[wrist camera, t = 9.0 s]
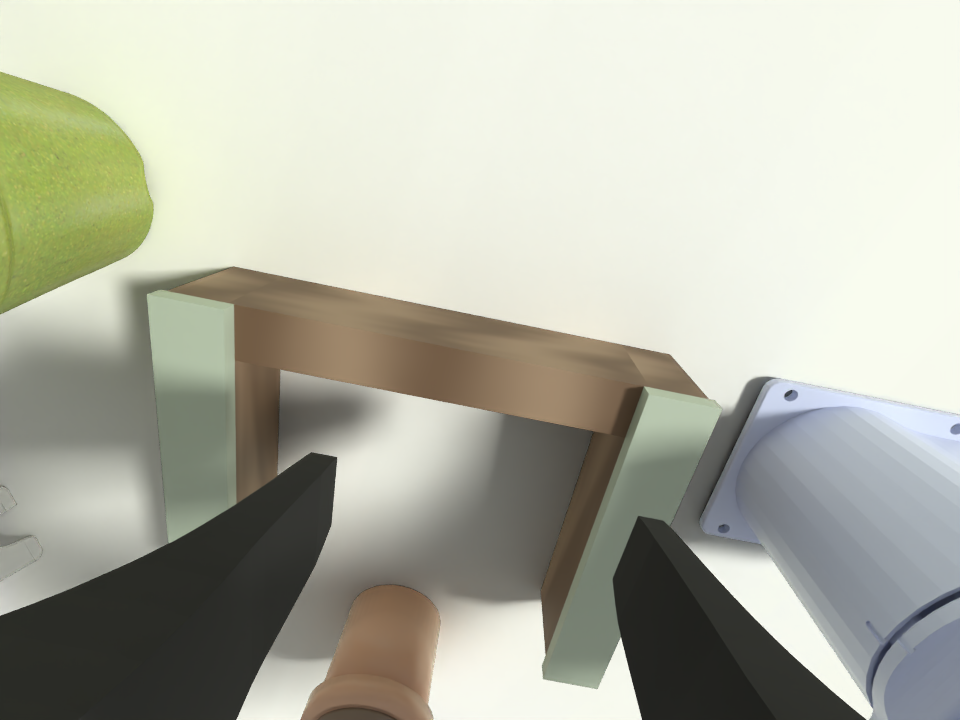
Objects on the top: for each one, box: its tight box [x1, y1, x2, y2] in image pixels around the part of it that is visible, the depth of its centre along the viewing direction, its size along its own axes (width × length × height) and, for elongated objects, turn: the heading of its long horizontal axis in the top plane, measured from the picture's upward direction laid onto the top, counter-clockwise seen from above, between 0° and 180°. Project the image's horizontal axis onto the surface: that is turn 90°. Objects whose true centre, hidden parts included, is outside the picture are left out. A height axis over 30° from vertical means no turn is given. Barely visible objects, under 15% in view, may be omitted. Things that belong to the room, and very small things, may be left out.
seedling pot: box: [301, 585, 440, 720], centre depth 23 cm, size 6×6×6 cm
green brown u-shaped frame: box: [147, 267, 722, 689], centre depth 19 cm, size 18×14×5 cm
